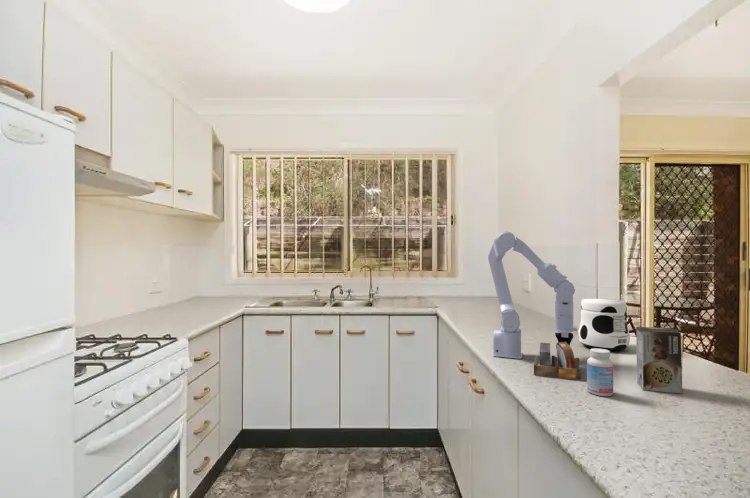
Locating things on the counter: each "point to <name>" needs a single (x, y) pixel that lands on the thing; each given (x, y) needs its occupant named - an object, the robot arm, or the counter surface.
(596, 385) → the pill bottle
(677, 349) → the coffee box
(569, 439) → the counter surface
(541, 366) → the rack
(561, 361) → the tin
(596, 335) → the milk container
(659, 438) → the counter surface
